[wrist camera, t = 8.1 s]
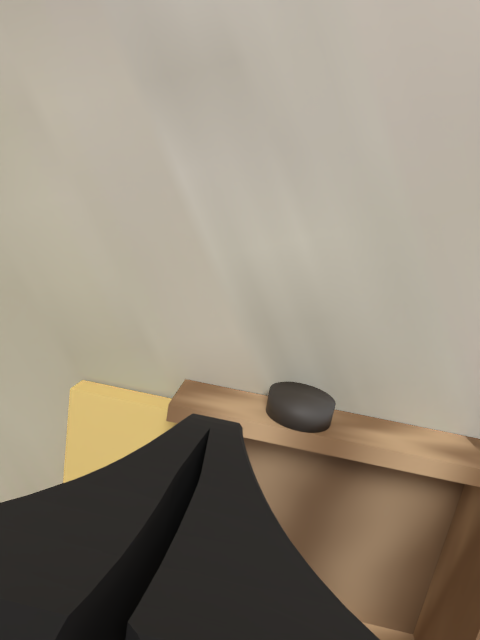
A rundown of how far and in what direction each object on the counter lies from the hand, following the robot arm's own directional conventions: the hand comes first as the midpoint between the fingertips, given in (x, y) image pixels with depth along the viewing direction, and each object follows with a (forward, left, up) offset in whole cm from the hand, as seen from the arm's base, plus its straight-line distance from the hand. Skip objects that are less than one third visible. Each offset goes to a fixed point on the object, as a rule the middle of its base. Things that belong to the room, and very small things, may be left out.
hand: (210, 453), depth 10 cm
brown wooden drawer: (-5, +8, -9) cm, 13 cm away
